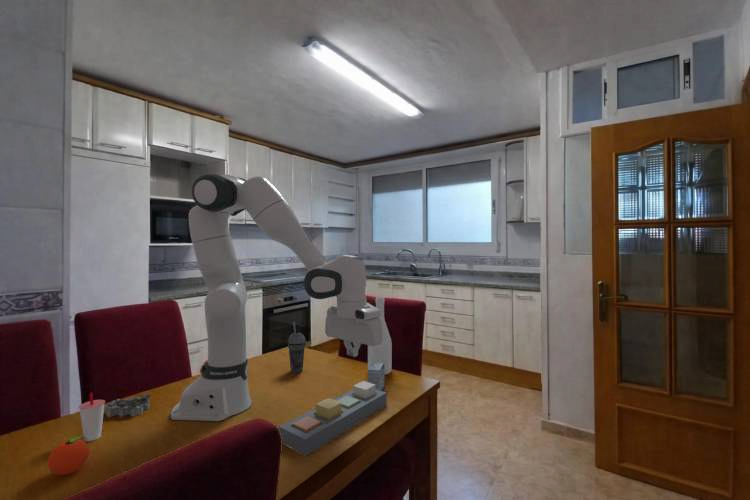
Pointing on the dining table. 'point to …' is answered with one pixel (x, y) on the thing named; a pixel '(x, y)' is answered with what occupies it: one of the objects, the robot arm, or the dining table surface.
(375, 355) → the grey bottle
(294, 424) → the button terracotta
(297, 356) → the beverage cup
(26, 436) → the dining table surface
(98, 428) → the cup
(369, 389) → the button cream
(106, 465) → the dining table surface
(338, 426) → the tray
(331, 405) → the button mustard
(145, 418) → the dining table surface
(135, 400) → the egg carton
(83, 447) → the clementine
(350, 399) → the button sage
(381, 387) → the medicine box
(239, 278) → the robot arm
